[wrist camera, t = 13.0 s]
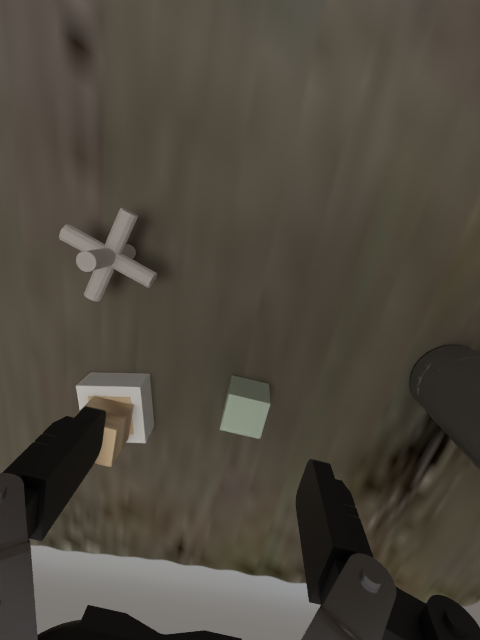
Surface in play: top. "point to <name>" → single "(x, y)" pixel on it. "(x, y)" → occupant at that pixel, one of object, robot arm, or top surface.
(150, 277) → the pipe connector
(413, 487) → the top surface
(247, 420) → the sage block
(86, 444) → the robot arm
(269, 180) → the top surface
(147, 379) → the white base
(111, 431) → the oak block
